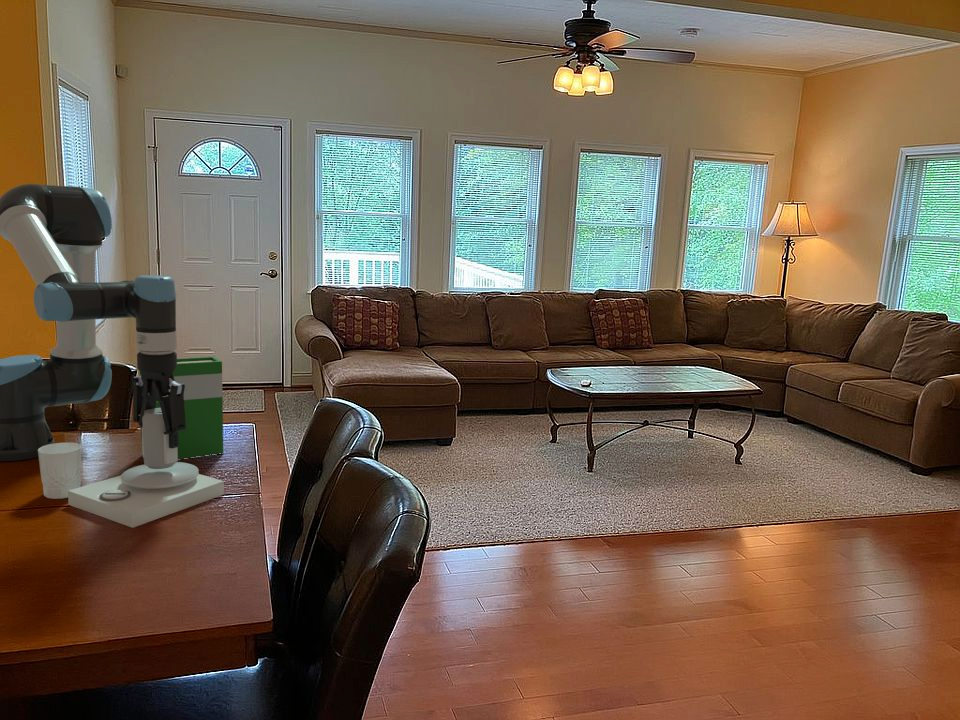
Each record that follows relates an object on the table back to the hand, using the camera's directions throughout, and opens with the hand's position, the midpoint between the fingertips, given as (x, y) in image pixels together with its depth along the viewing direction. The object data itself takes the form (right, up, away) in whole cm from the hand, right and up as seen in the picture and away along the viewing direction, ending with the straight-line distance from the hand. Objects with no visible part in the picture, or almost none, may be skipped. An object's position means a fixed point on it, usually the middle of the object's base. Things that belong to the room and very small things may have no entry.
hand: (160, 458), depth 153 cm
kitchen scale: (-2, -8, -1) cm, 9 cm away
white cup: (-21, -7, 0) cm, 22 cm away
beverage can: (0, -2, 0) cm, 2 cm away
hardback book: (-7, -3, +29) cm, 30 cm away
